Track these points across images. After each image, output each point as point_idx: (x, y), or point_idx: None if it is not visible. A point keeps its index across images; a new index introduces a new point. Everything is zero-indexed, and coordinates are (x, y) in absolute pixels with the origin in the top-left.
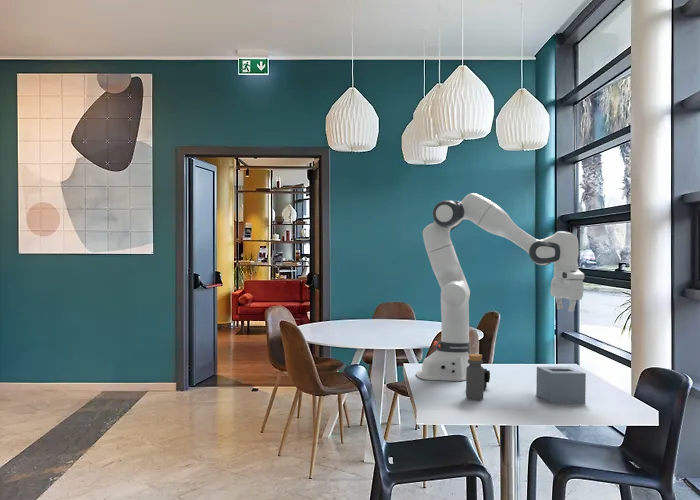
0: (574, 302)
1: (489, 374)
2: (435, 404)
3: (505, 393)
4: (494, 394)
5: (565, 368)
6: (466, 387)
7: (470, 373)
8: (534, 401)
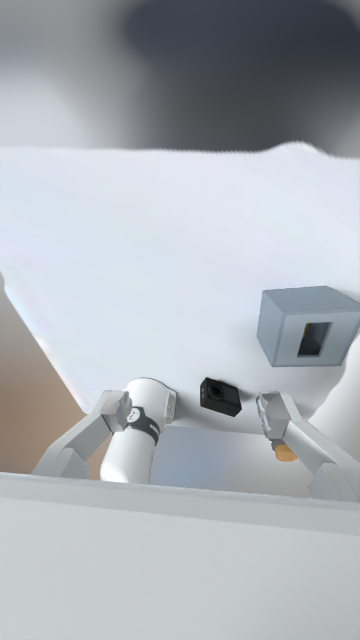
0: (351, 470)
1: (212, 390)
2: None
3: (243, 367)
4: (247, 379)
5: (300, 326)
6: None
7: None
8: None
